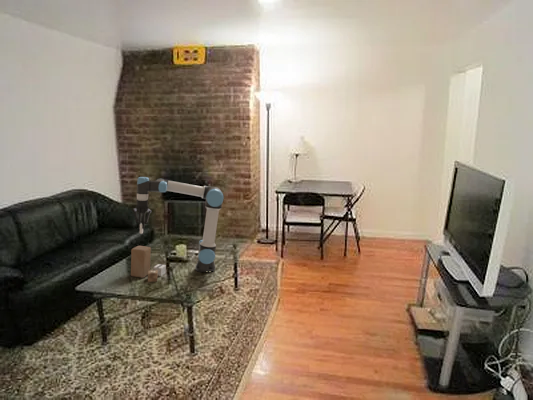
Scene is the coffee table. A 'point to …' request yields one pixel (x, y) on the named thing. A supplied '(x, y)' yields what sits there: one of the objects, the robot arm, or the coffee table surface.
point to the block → (140, 261)
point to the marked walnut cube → (152, 275)
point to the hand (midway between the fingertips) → (141, 233)
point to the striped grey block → (160, 269)
